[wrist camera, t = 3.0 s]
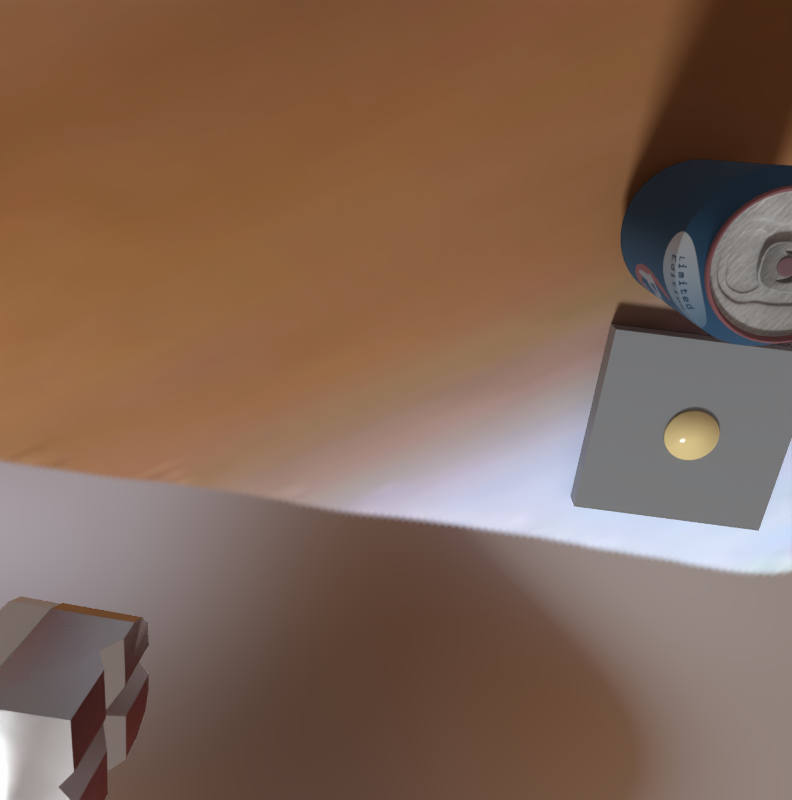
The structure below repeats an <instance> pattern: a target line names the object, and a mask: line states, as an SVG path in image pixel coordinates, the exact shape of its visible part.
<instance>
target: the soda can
mask: <svg viewBox="0 0 792 800" xmlns="http://www.w3.org/2000/svg"><path fill="white" fill-rule="evenodd" d="M621 250H622V254H623V258H624V261H625V263H626V266H627V268H628V270H629V271H630V273H631V274H632V276H633V277H634V278H635V279H636V281H637V282H638V283H639V284H641V285H642V286H643V287H644V288H646V289H647V290H648V291H650V292H651V293H652V294H654V295H655V296H657V297H658V298H659V299H661V300H662V301H664V302H665V303H666V304H668V305H669V306H671V307H672V308H673V309H675V310H676V311H677V312H679V313H680V314H682V315H683V316H684V317H686V318H687V319H689V320H690V321H691V322H693V323H694V324H695V325H697V326H698V327H700V328H701V329H702V330H704V331H705V332H707V333H708V334H710V335H711V336H713V337H715V338H717V339H720V340H722V341H725V342H728V343H732V344H736V345H744V346H762V345H770V344H775V343H787V342H792V166H789V165H774V164H760V163H746V162H732V161H718V160H690V161H685V162H681V163H678V164H675V165H672V166H670V167H668V168H666V169H664V170H662V171H661V172H659V173H657V174H656V175H655V176H653V177H652V178H651V179H650V180H648V181H647V182H646V183H645V184H644V185H643V186H642V187H641V188H640V190H639V191H638V192H637V193H636V195H635V196H634V198H633V199H632V201H631V203H630V205H629V206H628V209H627V211H626V213H625V216H624V219H623V223H622V228H621Z"/></svg>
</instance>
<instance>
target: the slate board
mask: <svg viewBox="0 0 792 800" xmlns="http://www.w3.org/2000/svg"><path fill="white" fill-rule="evenodd" d="M791 438H792V346H785V345H777V344H770V345H762V346H744V345H736V344H732V343H728V342H725V341H722V340H720V339H717V338H715V337H713V336H705V335H697V334H689V333H681V332H673V331H665V330H657V329H649V328H641V327H633V326H625V325H617V324H611V326H610V331H609V335H608V339H607V343H606V348H605V352H604V356H603V360H602V365H601V369H600V373H599V378H598V382H597V386H596V390H595V395H594V399H593V403H592V408H591V412H590V416H589V420H588V425H587V429H586V433H585V438H584V442H583V446H582V450H581V455H580V459H579V463H578V467H577V472H576V476H575V480H574V485H573V489H572V493H571V499H572V501H573V504H574V506H577V507H584V508H592V509H599V510H607V511H614V512H622V513H630V514H637V515H645V516H652V517H660V518H668V519H675V520H683V521H690V522H698V523H706V524H713V525H721V526H728V527H736V528H744V529H751V530H759V528H760V525H761V522H762V519H763V516H764V514H765V511H766V508H767V505H768V502H769V500H770V497H771V494H772V491H773V488H774V486H775V483H776V480H777V477H778V474H779V472H780V469H781V466H782V463H783V460H784V457H785V455H786V452H787V449H788V446H789V443H790V441H791Z"/></svg>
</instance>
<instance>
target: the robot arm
mask: <svg viewBox="0 0 792 800" xmlns="http://www.w3.org/2000/svg"><path fill="white" fill-rule="evenodd" d="M148 640H149V639H148V622H147V621H145V620H144V619H143V618H142V617H137V616H132V615H126V614H120V613H115V612H109V611H104V610H98V609H92V608H87V607H81V606H76V605H70V604H64V603H62V604H58V603H53V602H48V601H43V600H37V599H32V598H26V597H19V598H16V599H14V600H12V601H9V602H8V603H7V604H6V605H5V606H4V607H3V608H2V609H1V610H0V800H105V798H106V796H107V794H108V773H107V772H108V770H110V769H111V768H113V767H114V766H116V765H117V764H119V763H120V762H122V761H123V760H125V759H126V758H127V756H128V754H129V752H130V750H131V748H132V745H133V744H134V741H135V740H136V737H137V735H138V732H139V729H140V726H141V723H142V720H143V717H144V713H145V710H146V704H147V697H148V691H149V690H148V689H149V674H148V673H147V672H146V670H145V669H144V668H143V666H142V665H141V664H140V662H139V661H140V659H141V657H142V656H143V654H144V652H145V651H146V649H147V647H148V645H149V641H148Z"/></svg>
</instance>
